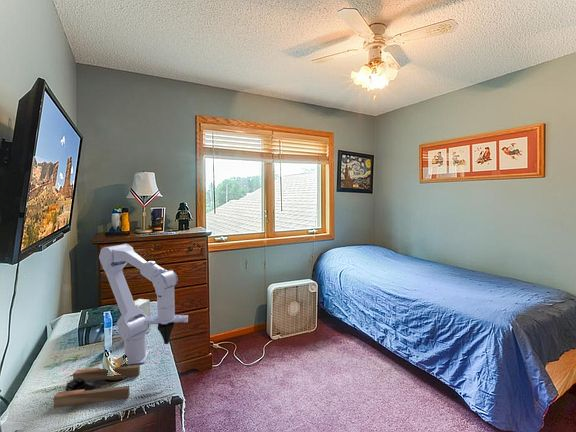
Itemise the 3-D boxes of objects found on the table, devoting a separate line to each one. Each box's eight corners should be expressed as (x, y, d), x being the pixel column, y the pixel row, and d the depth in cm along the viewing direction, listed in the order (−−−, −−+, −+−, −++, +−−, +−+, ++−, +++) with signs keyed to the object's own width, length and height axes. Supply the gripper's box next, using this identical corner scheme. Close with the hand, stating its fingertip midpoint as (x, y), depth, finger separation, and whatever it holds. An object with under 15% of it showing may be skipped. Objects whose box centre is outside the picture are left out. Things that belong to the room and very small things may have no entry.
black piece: (61, 411, 89) (60, 396, 89) (46, 404, 92) (45, 389, 92) (102, 387, 100) (102, 373, 100) (88, 381, 103) (87, 368, 103)
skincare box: (140, 329, 142) (139, 298, 141) (151, 330, 140) (150, 299, 139) (126, 337, 134) (125, 304, 133) (138, 339, 132) (137, 305, 131)
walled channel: (75, 379, 103) (75, 370, 103) (139, 372, 107) (139, 363, 107) (53, 407, 90) (53, 396, 90) (128, 398, 94) (127, 387, 94)
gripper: (141, 311, 103) (142, 350, 104) (186, 308, 106) (186, 346, 107) (146, 304, 110) (147, 340, 111) (188, 301, 113) (189, 337, 114)
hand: (166, 342), depth 110 cm, fingers closed
